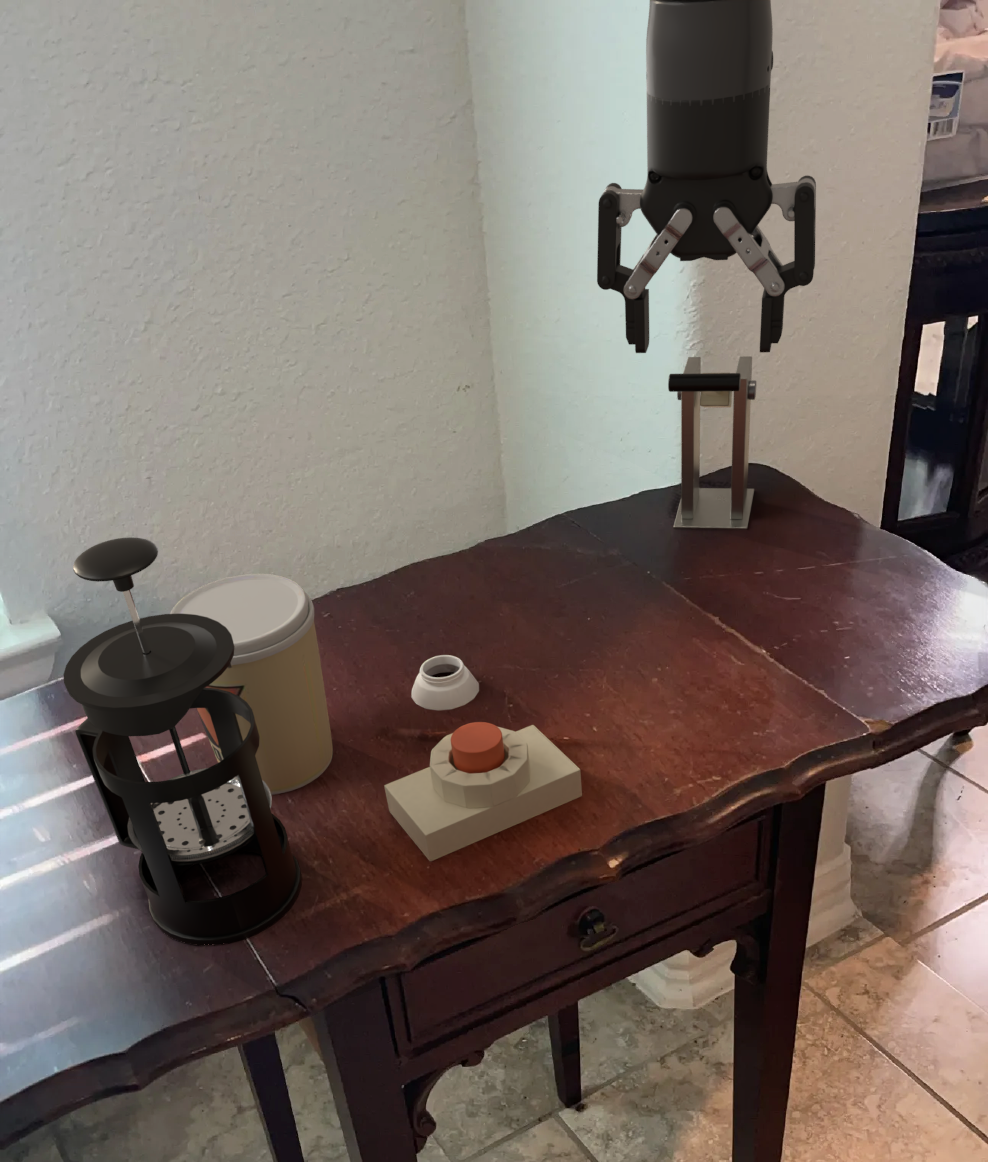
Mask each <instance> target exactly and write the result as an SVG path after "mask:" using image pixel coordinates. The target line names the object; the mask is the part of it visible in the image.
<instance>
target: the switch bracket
mask: <svg viewBox="0 0 988 1162" xmlns="http://www.w3.org/2000/svg"><path fill="white" fill-rule="evenodd" d="M701 363H702V357H701V356H688V357H687V360H686V363H685V366H684V369H683V373H682V374H693V373H702V372H701V371H702V365H701ZM752 371H753V356H752V355H751V356H750V355H749V356H748V355H747V356H744V355H743V356H739V357H738V361H737V365H736V370H735V373H740V374H741V384H740V390H739V391H733V405H732V441H731V442H732V443H731V477H730V478H731V479H730V480H731V481H730V487H729V488H728V487H727V488H726V487H724V488H719V487H717V488H716V487H712V488H711V487H708V488H707V487H700V480H701V479H700V478H701V477H700V476H701V475H700V473H701V467H700V466H701V465H700V464H701V459H700V458H701V406H700V397H701V392H676V393H677V394H676V396H677V397H676V399H677V401H680V418H681V421H680V430H681V431H680V436H681V437H680V439H681V440H680V444H681V447H680V450H681V451H680V453H681V454H680V460H681V461H680V472H681V473H680V479H681V481H680V485H681V486H680V487H681V488H680V490H681V491H680V494H681V495H680V500H679V504H678V508H677V512H676V516H675V519H674V523H673V525H672V526H673V527H672V528H673V529H672V530H711V531H712V530H714V531H715V530H716V531H721V530H724V531H728V530H729V531H748V528H749V522H750V518H751V511H752V507H753V502H754V495H755V488H748V487H749V485H748V484H749V459H750V455H749V454H750V433H751V431H750V430H751V428H750V427H751V405H752V403H751V402H752V401H754V400H756V396H757V380H754V379H753V378H752V375H753V374H752V373H753V372H752ZM752 379H753V380H752Z"/></svg>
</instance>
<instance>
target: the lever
mask: <svg viewBox="0 0 988 1162" xmlns="http://www.w3.org/2000/svg"><path fill="white" fill-rule="evenodd" d="M740 384H741V374H740V373H736V372H701V373H693V374H683V373H670V374H669V375H668V383H667V388H668V392H669V393H672V392H673V393H675V392H676V393H677V392H700V407H702V408H706V409H707V408H708V409H709V408H731V407H732V399H733V392H734V391H739V390H740Z"/></svg>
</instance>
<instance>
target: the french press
mask: <svg viewBox="0 0 988 1162" xmlns="http://www.w3.org/2000/svg"><path fill="white" fill-rule="evenodd" d="M158 555H159V549H158V547H157V545H156V544H155V543H154V542H153V541H151V540H149V539H147V538H142V537H135V536H134V537H133V536H129V537H128V536H127V537H119V538H113V539H107V540H105V541H102V542H100V543H97V544H94V545H93V546H91V547H88V549H86V550H84V551H82V553H80V554H79V555H78V556H77V558H76V559H75V560H74V562H73V566H72V567H73V568H72V569H73V572H74V574H75V575H76V576H77V577H78V578H79V579H83V580H85V581H88V582H89V581H90V582H110V581H112V582H113V585H114V587H115V590H116V591H117V592H119V593H121V592H122V594H123V597H124V600H125V603H126V606H127V608H128V612H129V615H130V618H131V620H129V621H128V622H124V623H120V624H118V625H116V626H113V627H111V628H108V629H107V630H104V631H102V632H101V633H99V634H98V635H95V636H94V637H93V638H91V639H89V640H88V641H86V642H85V643H84V644H83V645H82V646H80V647H79V648H78V649H77V650H76V651H75V652H74V653H73V655H71V657H70V659H69V660H68V662H67V663H66V665H65V668H64V671H63V684H64V687H65V690H66V691H67V693H68V695H69V696H70V697H71V698H72V699H73V700H74V701H75V702H76V703H78V704H80V705H81V706H82V709H83V711H84V714H85V716H86V717H87V718H85V720H84V721H82V722H81V723H80V724H79V726H77V727H76V729H75V736H76V738H77V740H78V743H79V746H80V748H81V751H82V753H83V756H84V758H85V761H86V763H87V766H88V768H89V771H90V774H91V776H92V778H93V780H94V783H95V786H96V788H97V791H98V793H99V796H100V799H101V801H102V803H103V807H104V809H105V811H106V813H107V816H108V819H109V822H110V823H111V826H112V829H113V831H114V834H115V836H116V839H117V841H118V843H119V844H120V846H123V847H126V848H129V849H130V848H131V849H135V850H139V851H140V853H141V854H140V856H139V860H138V875H139V879H140V881H141V884H142V886H143V888H144V891H145V893H146V896H147V899H148V909H149V914H150V916H151V919H152V920H153V923H154V925H155V924H156V925H157V926H156V925H155V926H156V927H157V928H158V929H159V931H161V933H163V934H164V933H165V934H164V935H166V936H167V935H168V936H167V937H169V938H171V939H172V938H173V939H172V940H174V939H176V940H175V941H177V940H178V941H177V942H180V941H182V942H181V943H183V942H185V943H184V944H186V943H191V944H190V945H192V944H197V945H196V946H199V945H202V946H205V945H208V944H209V945H212V944H221V945H224V944H223V943H228V944H232V943H236V942H239V941H243V940H247V939H248V938H252V937H253V936H256V935H258V934H260V933H261V932H263V931H265V930H267V929H268V928H270V927H272V926H273V925H274V924H276V923H277V922H278V921H280V920H281V919H282V918H283V917H284V916H285V915H286V914H287V913H288V912H289V910H291V908H292V907H293V906H294V904H295V902H296V901H297V899H298V897H299V895H300V891H301V888H302V879H303V878H302V877H303V874H302V871H301V867H300V862H299V861H298V859H297V857H296V856H295V855H294V853H293V851H292V848H291V844H290V841H289V838H288V834H287V830H286V827H285V826H284V824H283V822H282V821H281V820H280V819H279V818H278V817H277V816H276V815H275V814H273V812H272V810H271V808H272V799H273V796H272V795H271V793H270V789H269V788H268V786H267V785H266V783H265V782H264V781H263V780H262V778H261V774H260V771H259V767H258V764H257V760H256V757H255V755H256V752H257V750H258V747H259V739H260V736H259V733H258V729H257V725H256V722H255V718H254V715H253V711H252V709H251V707H250V706H249V704H248V703H247V702H246V701H245V700H243V699H242V698H241V697H239V696H238V695H235V694H233V693H231V692H228V691H224V690H220V689H215V688H205V687H207V686H208V685H210V684H211V683H212V682H214V681H215V680H216V679H217V678H218V677H219V676H221V675H222V674H223V672H224V671H225V670H226V669H227V667H228V668H232V666H231V663H230V662H231V660H232V658H233V656H234V648H235V646H234V643H233V639H232V635H231V633H230V632H229V631H228V629H227V628H226V627H225V626H223V625H222V624H221V623H219V622H218V621H215V620H213V619H210V618H208V617H204V616H199V615H194V614H170V613H163V614H162V613H161V614H156V615H149V616H145V617H140V616H139V613H138V610H137V607H136V604H135V601H134V597H133V595H132V592H131V590H132V589H134V587H135V583H134V580H133V576H134V575H135V574H138V573H140V572H142V571H144V570H145V569H147V568H148V567H150V566H151V565H152V564H153V563H154V562H155V561H156V560H157V558H158ZM196 708H208V710H209V713H210V716H211V720H212V723H213V726H214V729H215V733H216V736H217V739H218V742H219V746H220V749H221V752H222V756H223V760H222V761H220V762H219V763H218V762H217V763H215V764H213V765H211V766H210V767H205V768H198V769H194V770H190V768H189V765H188V761H187V758H186V755H185V753H184V749H183V745H182V743H181V740H180V737H179V734H178V731H177V728H176V726H177V725H178V724H179V723H180V721H181V720H182V719H183V718H184V717H185V716H186V715H187V713H188V712H189V710H191V709H196ZM235 713H236V714H238V715H240V716H242V717H243V718H244V719H246V720H247V721H248V722H249V723H250V724H251V726H250V729H249V732H248V734H247V737H246V738H245V739H244V741H243V738H242V735H241V732H240V728H239V725H238V721H237V718H236V714H235ZM167 731H169V734H170V738H171V740H172V743H173V746H174V748H175V751H176V755H177V758H178V760H179V763H180V767H181V769H182V772H183V773H180V774H178V775H175V776H172V777H171V778H169V779H166V780H160V781H146V780H145V776H144V774H143V771H142V769H141V766H140V764H139V761H138V758H137V755H136V753H135V750H134V747H133V744H132V741H131V739H130V737H148V736H153V735H160V734H162V733H165V732H167ZM235 852H247V853H248V852H249V853H254V854H258V855H260V857H261V861H262V864H263V869H264V871H265V874H264V875H262V877H260V878H259V879H258V880H256V881H255V882H253V883H252V884H250V885H248V886H246V887H244V888H243V889H240V890H238V891H235V892H233V893H231V894H227V895H223V896H220V897H216V898H210V899H203V900H186V895H185V893H184V891H183V888H182V885H181V881H180V879H179V878H180V877H181V876H182V875H183V874H184V873H185V872H186V871H187V870H189V869H190V868H192V867H193V866H194V865H199V864H205V863H209V862H212V861H216V860H219V859H222V858H225V857H227V856H229V855H231V854H233V853H235ZM204 944H205V945H204Z"/></svg>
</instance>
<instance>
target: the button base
mask: <svg viewBox="0 0 988 1162" xmlns="http://www.w3.org/2000/svg"><path fill="white" fill-rule="evenodd" d="M497 727H498V728H499V729H500V730H501V732H502V737H503V746H504V754H505V759H504V762H503V763H502V765H501V766H500V767H498V768H496V769H493V770H491V771H489V772H486V773H471V774H469V773H466V772H462V771H460V770H458V769H457V768H456V766H455V764H454V760H453V753H452V747H451V736H452V734H453V733H454V732H452V733H450V734H446V735H445V736H444V737H443V738H442V739H441V740H440V741H439V742H438V743H436V745H435V746H434V747H433V748H432V749H431V751H430V759H429V766H428V767H426V768H423V769H420V770H418V771H416V772H413V773H411V774H409V775H406V776H403V777H401V778H399V779H396V780H394V781H391V782H388V783H386V784H384V785H383V786H384V787H383V788H384V792H385V797H386V802H387V807H388V812H389V813H390V815H392V817H393V818H394V820H396V822H397V823H398V825H399V826H401V828H402V829H403V830H404V832H405V833H406V834H407V835H408V837H409V838H410V839H411V840H412V842H413V843H414V844H415V846H417V847H418V849H419V850H420V851H421V853H422V854H423V855H424V856H425V857H426V859H427V860H428V861H429V862H433V861H435V860H437V859H440V858H442V857H444V856H447V855H449V854H451V853H454V852H456V851H459V850H461V849H463V848H466V847H468V846H470V845H472V844H475V843H477V842H479V841H481V840H484V839H486V838H488V837H491V836H493V835H495V834H497V833H500V832H502V831H505V830H507V829H509V828H511V827H514V826H516V825H518V824H521V823H523V822H526V821H528V820H531V819H533V818H534V817H536V816H537V817H538V816H540V815H542V814H544V813H546V812H548V811H551V810H552V809H555V808H558V807H560V806H563V805H565V804H567V803H569V802H571V801H572V802H573V801H574V800H576V799H579V798H581V797H583V787H582V775H581V774H582V773H581V769H580V768H579V767H578V766H577V764H575V763H574V762H573V761H572V760H571V759H570V757H568V756H567V755H566V754H564V752H563V751H562V750H560V748H559V747H558V746H556V745H555V744H554V743H553V742H552V741H551V740H550V739H549V738H548V737H547V736H546V735H545V734H543V732H541V731H540V729H538V728H537V727H536V726H535V725H534V724H531V725H528V726H526V727H524V728H522V729H521V728H520V729H519V730H516V731H515V730H512V729H508V728H505V727H501V726H497Z"/></svg>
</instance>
